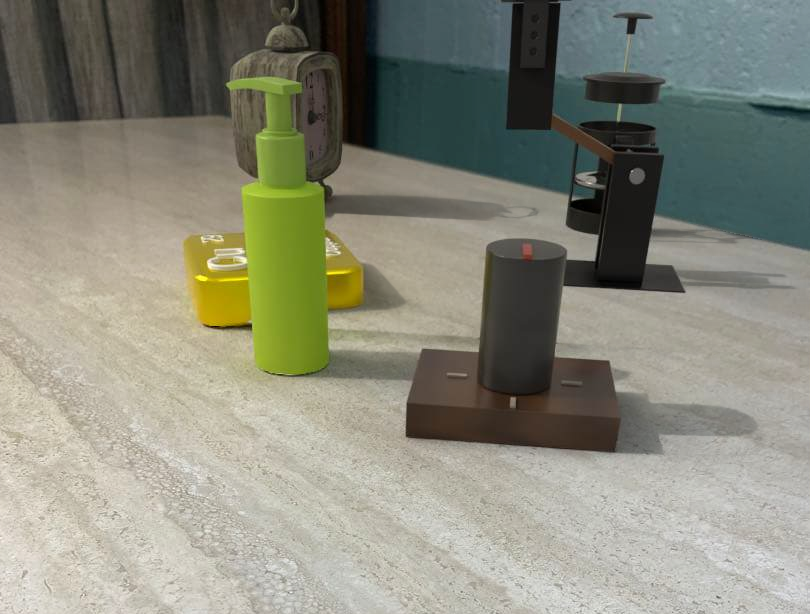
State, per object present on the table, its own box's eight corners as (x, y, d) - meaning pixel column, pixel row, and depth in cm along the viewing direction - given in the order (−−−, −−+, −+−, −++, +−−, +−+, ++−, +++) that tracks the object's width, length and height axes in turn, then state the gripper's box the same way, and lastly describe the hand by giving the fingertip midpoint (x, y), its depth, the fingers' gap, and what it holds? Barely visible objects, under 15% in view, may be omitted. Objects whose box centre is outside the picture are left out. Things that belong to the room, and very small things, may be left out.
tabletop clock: (300, 220, 108) (289, -20, 94) (235, 213, 110) (215, -22, 96) (344, 196, 119) (340, -20, 105) (284, 191, 121) (273, -22, 108)
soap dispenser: (280, 339, 73) (263, 71, 62) (344, 359, 70) (338, 79, 59) (230, 360, 69) (202, 77, 58) (295, 381, 66) (279, 86, 55)
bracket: (557, 296, 84) (574, 155, 77) (555, 270, 92) (570, 139, 85) (682, 304, 83) (711, 161, 76) (670, 276, 91) (695, 144, 84)
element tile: (368, 317, 78) (368, 264, 76) (200, 330, 74) (193, 274, 72) (332, 270, 90) (331, 222, 87) (185, 279, 86) (179, 230, 84)
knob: (477, 363, 63) (487, 231, 58) (549, 367, 63) (565, 235, 57) (475, 392, 59) (485, 252, 53) (552, 396, 58) (570, 256, 53)
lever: (506, 120, 79) (527, 81, 77) (507, 115, 82) (527, 77, 80) (636, 199, 81) (660, 163, 79) (633, 191, 84) (655, 156, 82)
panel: (604, 391, 66) (610, 358, 64) (615, 452, 57) (621, 415, 56) (421, 379, 67) (422, 346, 65) (405, 436, 58) (406, 400, 57)
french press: (558, 222, 109) (583, 9, 97) (633, 225, 109) (668, 11, 96) (567, 247, 100) (596, 14, 87) (650, 250, 99) (691, 16, 86)
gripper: (493, -378, 46) (476, 113, 59) (472, -487, 35) (457, 144, 48) (637, -387, 45) (588, 114, 58) (661, -502, 34) (594, 146, 47)
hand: (528, 127), depth 53 cm, fingers closed
